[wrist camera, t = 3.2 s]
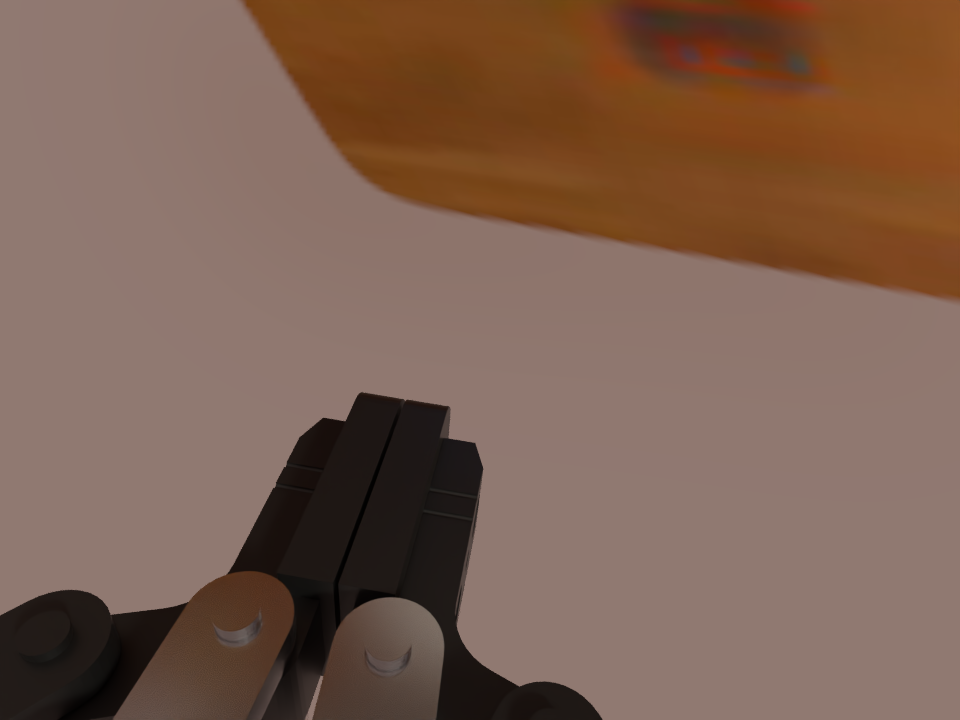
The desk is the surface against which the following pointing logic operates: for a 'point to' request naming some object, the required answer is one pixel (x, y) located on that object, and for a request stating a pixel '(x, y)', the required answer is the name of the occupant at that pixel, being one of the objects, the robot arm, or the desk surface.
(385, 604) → the robot arm
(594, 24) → the desk surface
